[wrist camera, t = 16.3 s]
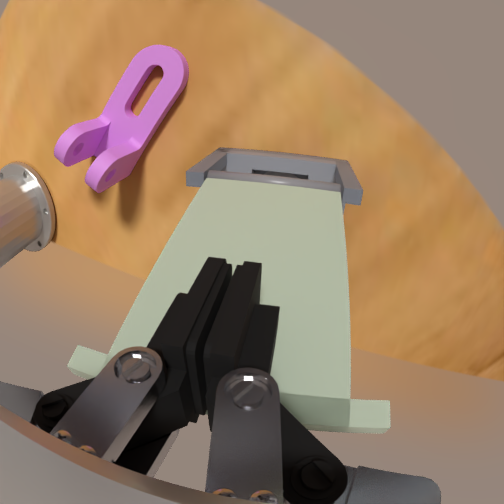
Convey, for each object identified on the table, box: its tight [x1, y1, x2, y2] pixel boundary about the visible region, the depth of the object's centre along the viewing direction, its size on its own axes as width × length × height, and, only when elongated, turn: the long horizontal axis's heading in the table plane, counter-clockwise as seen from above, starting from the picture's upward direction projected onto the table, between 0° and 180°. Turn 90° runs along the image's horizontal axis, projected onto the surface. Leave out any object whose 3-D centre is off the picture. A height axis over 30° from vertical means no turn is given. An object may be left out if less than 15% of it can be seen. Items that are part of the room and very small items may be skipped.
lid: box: [67, 170, 390, 433], centre depth 15 cm, size 11×15×1 cm
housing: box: [186, 148, 363, 214], centre depth 27 cm, size 11×15×8 cm
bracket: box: [54, 45, 189, 193], centre depth 23 cm, size 13×6×7 cm, turn 142°
